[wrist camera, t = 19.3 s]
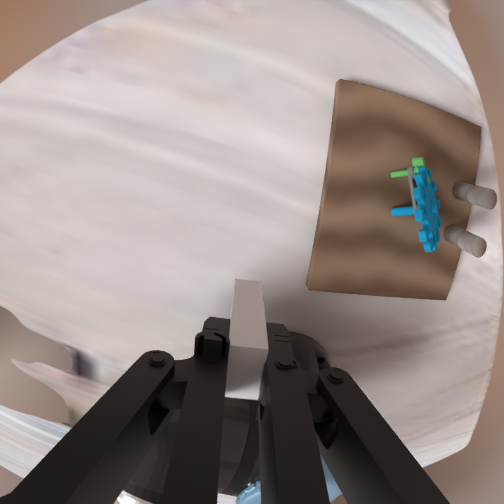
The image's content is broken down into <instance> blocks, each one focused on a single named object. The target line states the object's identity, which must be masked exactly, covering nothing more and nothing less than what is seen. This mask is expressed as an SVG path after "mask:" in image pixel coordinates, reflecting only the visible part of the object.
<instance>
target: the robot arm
mask: <svg viewBox="0 0 504 504" xmlns="http://www.w3.org/2000/svg"><path fill="white" fill-rule="evenodd" d="M218 493H221V494H226V495H231V496H236V497H237V499H236V503H237V504H330V502H331V501H333V500H334V499H335V498H336V497H337V496H339V495H340V494H341V493H342V494H343V496H344V498H345V499H346V501H347V503H348V504H450V503H449V502H448V500H447V499H446V498H445V497H444V495H443V494H442V493H441V491H440V490H439V489H438V487H437V486H436V485H435V484H434V483H433V481H432V480H431V479H430V477H429V476H428V475H427V473H426V472H425V471H424V470H423V468H422V467H421V466H420V464H419V463H418V462H417V461H416V459H415V458H414V457H413V455H412V454H411V453H410V452H409V450H408V449H407V448H406V446H405V445H404V444H403V443H402V441H401V440H400V439H399V437H398V436H397V435H396V434H395V432H394V431H393V430H392V429H391V427H390V426H389V425H388V423H387V422H386V421H385V420H384V418H383V417H382V416H381V414H380V413H379V412H378V411H377V409H376V408H375V407H374V405H373V404H372V403H371V402H370V400H369V399H368V398H367V397H366V395H365V394H364V393H363V391H362V390H361V389H360V388H359V386H358V385H357V384H356V382H355V381H354V380H353V379H352V377H351V376H350V375H349V374H348V373H347V372H346V371H344V370H342V369H339V368H335V367H331V365H330V362H329V359H328V356H327V354H326V352H325V350H324V349H323V347H322V346H321V345H320V344H319V343H318V342H316V341H315V340H313V339H312V338H310V337H308V336H305V335H302V334H298V333H293V332H288V329H287V328H286V327H285V326H284V325H283V324H276V323H266V319H265V309H264V299H263V289H262V282H257V281H248V280H240V279H235V284H234V292H233V301H232V309H231V317H230V319H224V318H216V317H209V318H208V319H207V320H206V321H205V322H204V326H203V330H202V332H200V333H198V334H197V335H196V337H195V349H194V356H193V357H191V358H188V359H184V360H174V358H173V357H172V356H171V355H170V354H169V353H167V352H165V351H160V350H153V351H149V352H146V353H144V354H143V355H142V356H141V357H140V358H139V359H138V360H137V361H136V362H135V363H134V364H133V365H132V366H131V367H130V368H129V369H128V370H127V371H126V372H125V373H124V374H123V375H122V376H121V377H120V378H119V380H118V381H117V382H116V383H115V384H114V385H113V386H112V387H111V388H110V389H109V390H108V391H107V392H106V393H105V394H104V395H103V396H102V397H101V398H100V399H99V400H98V401H97V402H96V403H95V405H94V406H93V407H92V408H91V409H90V410H89V411H88V412H87V413H86V414H85V415H84V416H83V417H82V418H81V419H80V420H79V421H78V422H77V423H76V424H75V425H74V427H73V428H72V429H71V430H70V431H69V432H68V433H67V434H66V435H65V436H64V437H63V438H62V439H61V440H60V441H59V442H58V443H57V444H56V445H55V447H54V448H53V449H52V450H51V451H50V452H49V453H48V454H47V455H46V456H45V457H44V458H43V459H42V460H41V461H40V462H39V463H38V465H37V466H36V467H35V468H34V469H33V470H32V471H31V472H30V473H29V474H28V475H27V476H26V477H25V478H24V479H23V481H22V482H21V483H20V484H19V485H18V486H17V487H16V488H15V489H14V490H13V491H12V492H11V493H9V494H7V495H5V496H3V497H0V504H217V495H218Z"/></svg>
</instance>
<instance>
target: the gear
mask: <svg viewBox="0 0 504 504" xmlns="http://www.w3.org/2000/svg"><path fill="white" fill-rule="evenodd" d="M412 164H413V165H410V166H407V170H401V171H395V172H391V177H392V178H396V177H403V176H408V179H409V184H410V190H411V197H412V203H413V206H409V207H398V208H391V214H392V216H403V215H415V221H416V222H422V229H420V230H419V232H418V233H419V240H420V242H424V250H425V252H432V251H437V242H440V239H441V238H440V232H439V228H438V227H441V217H440V216H439V214H438V209H440V200H439V199H436V197H435V192H437V186H436V182H431V180H433V176H432V172H431V170H427V167H426V166H425V161H424V158H423V157H418V158H412ZM419 166H421V167H419Z"/></svg>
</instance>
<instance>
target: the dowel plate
mask: <svg viewBox="0 0 504 504" xmlns="http://www.w3.org/2000/svg"><path fill="white" fill-rule="evenodd" d="M480 138H481V127H480V126H478V125H475V124H473V123H471V122H469V121H467V120H464V119H462V118H460V117H457V116H455V115H452V114H450V113H448V112H445V111H443V110H440V109H437V108H435V107H432V106H430V105H427V104H424V103H421V102H419V101H416V100H413V99H410V98H407V97H404V96H401V95H398V94H394V93H391V92H388V91H385V90H381V89H378V88H374V87H371V86H367V85H363V84H359V83H355V82H351V81H347V80H343V79H340V80H339V81H337V82H336V88H335V98H334V107H333V116H332V124H331V132H330V140H329V148H328V155H327V163H326V170H325V177H324V183H323V190H322V196H321V203H320V209H319V215H318V221H317V227H316V233H315V239H314V244H313V250H312V255H311V261H310V266H309V271H308V277H307V282H306V285H307V287H308V290H313V291H324V292H336V293H348V294H360V295H373V296H386V297H400V298H416V299H432V300H446V299H447V296H448V293H449V290H450V287H451V284H452V280H453V277H454V274H455V271H456V267H457V264H458V260H459V256H460V253H461V249H463V250H464V251H466V252H468V253H470V254H472V255H473V256H475V257H477V258H479V257H481V256H483V254H484V253H485V251H486V246H487V245H486V241H485V240H484V239H483V238H481V237H479V236H476V235H474V234H472V233H470V232H468V231H466V228H467V224H468V219H469V214H470V209H471V204H475V205H478V206H481V207H484V208H487V209H493V208H494V207H495V205H496V202H497V195H496V193H495V191H494V190H492V189H488V188H484V187H480V186H476V185H475V181H476V174H477V166H478V158H479V149H480ZM418 157H423V158H424V161H425V166H426V167H427V170H431V172H432V176H433V180H431V182H436V186H437V192H435V197H436V199H439V200H440V209H438V214H439V216H440V217H441V227H438V228H439V232H440V238H441V239H440V242H437V251H432V252H425V250H424V242H420V240H419V233H418V232H419V230H420V229H422V222H416V221H415V215H403V216H392V214H391V208H398V207H409V206H413V203H412V197H411V190H410V184H409V179H408V176H403V177H396V178H392V177H391V172H395V171H401V170H407V166H410V165H413V164H412V158H418ZM419 167H421V166H419Z"/></svg>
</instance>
